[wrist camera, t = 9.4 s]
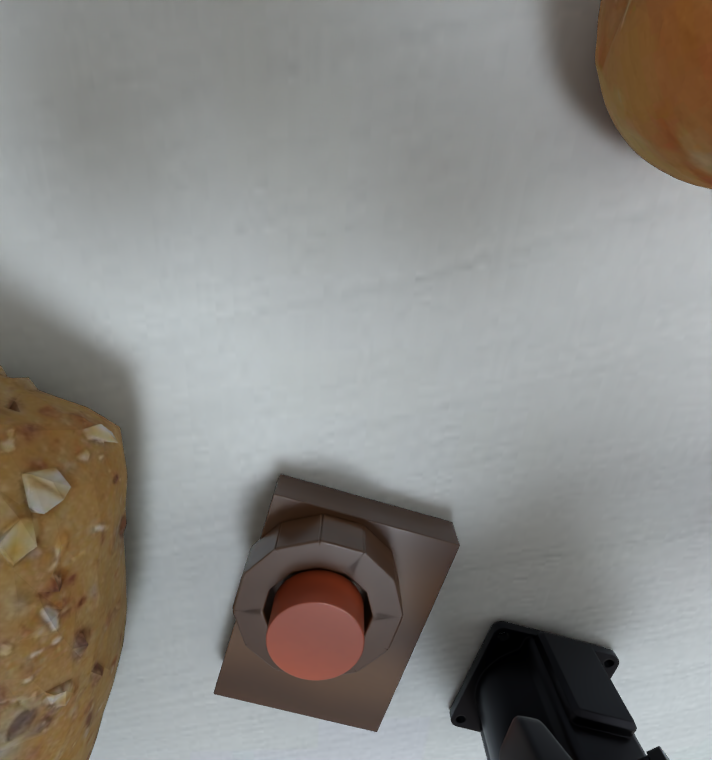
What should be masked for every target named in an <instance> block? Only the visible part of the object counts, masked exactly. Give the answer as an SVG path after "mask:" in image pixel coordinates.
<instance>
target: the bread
mask: <svg viewBox="0 0 712 760" xmlns="http://www.w3.org/2000/svg"><path fill="white" fill-rule="evenodd" d="M127 478H128V477H127V468H126V461H125V455H124V449H123V442H122V436H121V430H120V427H119V426H117V425H115V424H114V423H112V422H111V421H109V420H108V419H106V418H105V417H103V416H101V415H100V414H98V413H96V412H94V411H93V410H91V409H89V408H88V407H85V406H82V405H79V404H76V403H73V402H70V401H67V400H65V399H62V398H59V397H56V396H53V395H50V394H48V393H45V392H42V391H40V390H38V389H37V388H36V386H35V385H34V384H33V383H32V381H31V380H30V379H29V377H26V378H10V377H7V375H6V373H5V372H4V370H3V368H2V366H0V760H89V758H90V755H91V752H92V749H93V746H94V744H95V741H96V738H97V734H98V731H99V727H100V723H101V720H102V716H103V712H104V709H105V706H106V703H107V701H108V698H109V695H110V692H111V689H112V686H113V682H114V678H115V674H116V670H117V666H118V662H119V658H120V654H121V650H122V646H123V639H124V631H125V623H126V611H127V594H126V565H125V550H124V531H125V527H126V524H127V523H126V510H125V507H126V492H127Z"/></svg>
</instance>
